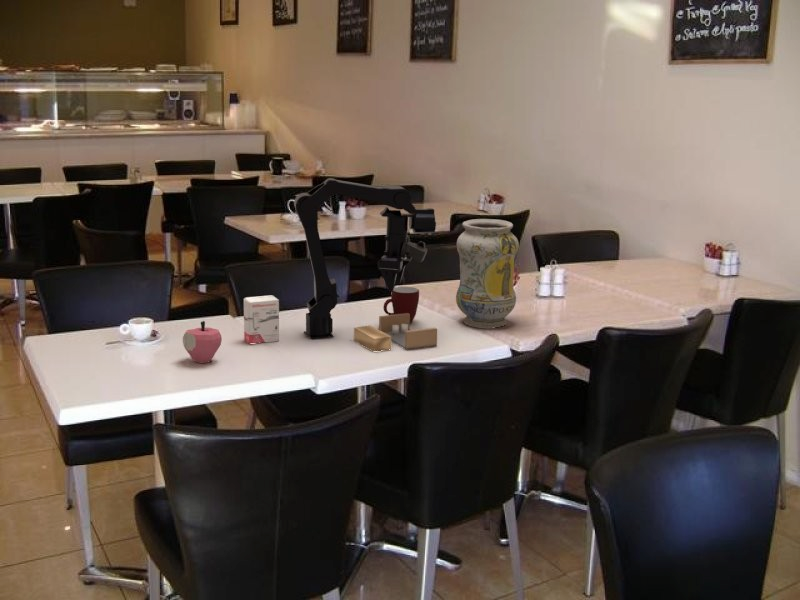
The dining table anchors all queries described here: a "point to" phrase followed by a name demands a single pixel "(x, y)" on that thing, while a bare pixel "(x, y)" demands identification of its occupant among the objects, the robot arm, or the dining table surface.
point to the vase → (486, 272)
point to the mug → (403, 301)
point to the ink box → (261, 319)
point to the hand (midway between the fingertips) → (394, 288)
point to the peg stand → (407, 332)
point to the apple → (202, 343)
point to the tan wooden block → (372, 338)
